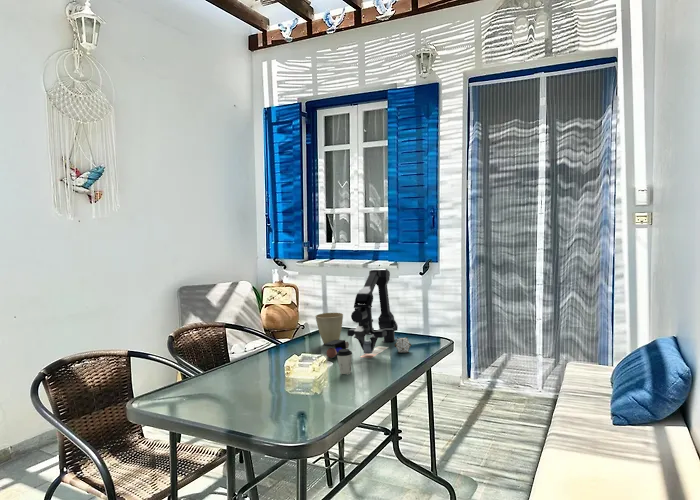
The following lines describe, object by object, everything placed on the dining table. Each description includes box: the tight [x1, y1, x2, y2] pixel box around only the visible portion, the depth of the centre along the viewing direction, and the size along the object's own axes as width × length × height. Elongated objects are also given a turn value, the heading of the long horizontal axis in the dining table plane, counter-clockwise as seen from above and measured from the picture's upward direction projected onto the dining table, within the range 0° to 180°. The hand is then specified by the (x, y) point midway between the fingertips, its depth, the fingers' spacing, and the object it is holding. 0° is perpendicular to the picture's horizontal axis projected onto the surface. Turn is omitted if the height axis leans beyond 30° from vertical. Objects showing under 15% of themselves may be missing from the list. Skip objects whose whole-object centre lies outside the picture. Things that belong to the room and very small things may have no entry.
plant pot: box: [315, 312, 344, 344], centre depth 270 cm, size 15×15×16 cm
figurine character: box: [322, 339, 350, 359], centre depth 247 cm, size 7×8×15 cm
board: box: [359, 345, 389, 359], centre depth 246 cm, size 22×9×1 cm, turn 151°
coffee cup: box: [336, 348, 353, 375], centre depth 216 cm, size 7×7×10 cm
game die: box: [394, 336, 412, 354], centre depth 242 cm, size 9×8×10 cm
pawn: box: [362, 339, 373, 354], centre depth 240 cm, size 4×4×6 cm
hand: (368, 350), depth 240 cm, fingers closed on pawn, 4 cm apart
